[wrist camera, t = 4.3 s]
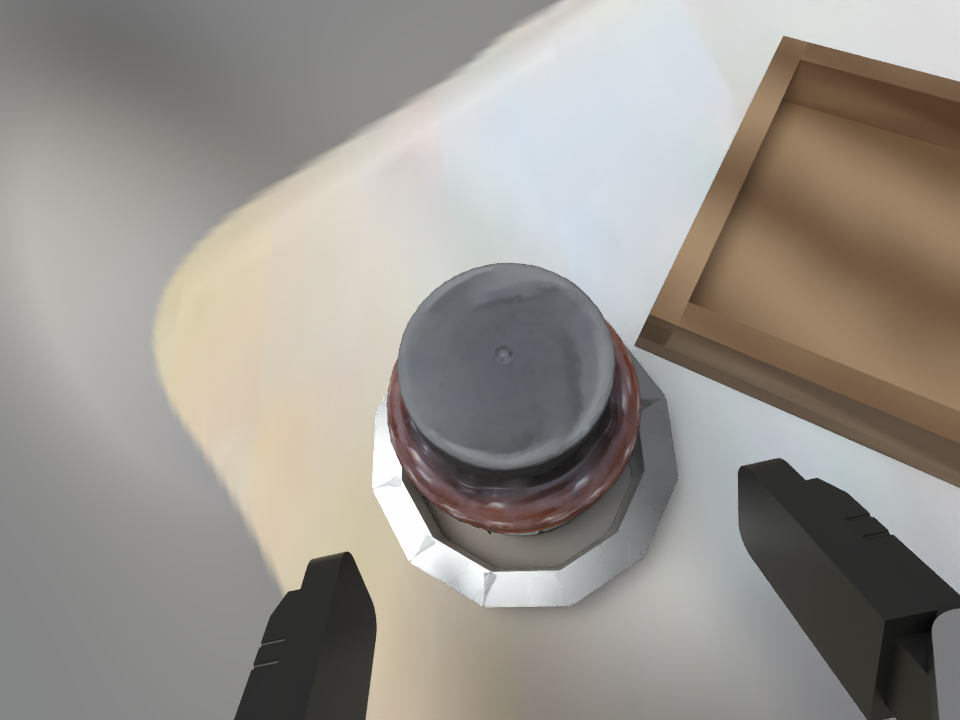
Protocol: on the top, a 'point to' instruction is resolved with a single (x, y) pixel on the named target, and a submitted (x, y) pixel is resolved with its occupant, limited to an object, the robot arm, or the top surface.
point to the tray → (832, 257)
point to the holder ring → (536, 585)
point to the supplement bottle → (512, 400)
